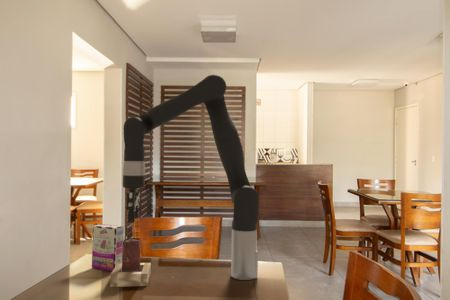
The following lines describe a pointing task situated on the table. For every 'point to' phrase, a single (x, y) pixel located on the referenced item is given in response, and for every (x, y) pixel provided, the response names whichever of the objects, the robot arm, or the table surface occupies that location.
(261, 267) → the table surface
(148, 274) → the frame
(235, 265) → the robot arm
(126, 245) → the can
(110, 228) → the candy bar box
